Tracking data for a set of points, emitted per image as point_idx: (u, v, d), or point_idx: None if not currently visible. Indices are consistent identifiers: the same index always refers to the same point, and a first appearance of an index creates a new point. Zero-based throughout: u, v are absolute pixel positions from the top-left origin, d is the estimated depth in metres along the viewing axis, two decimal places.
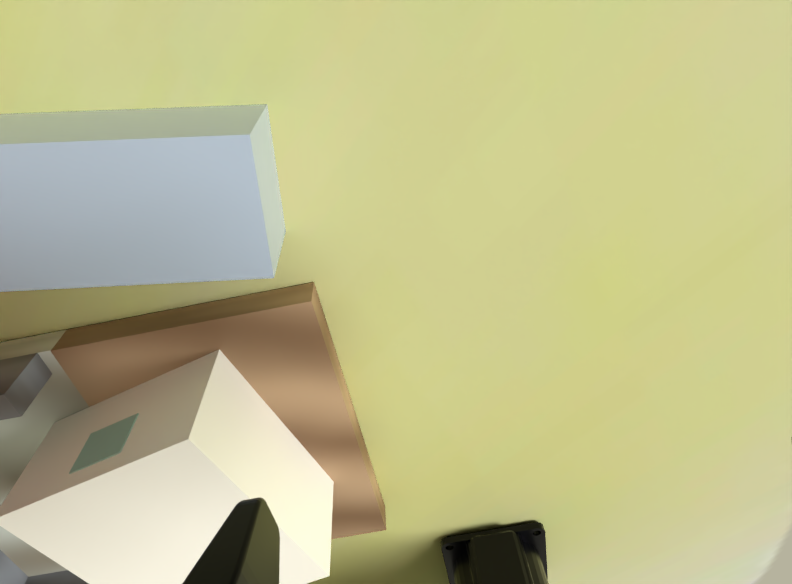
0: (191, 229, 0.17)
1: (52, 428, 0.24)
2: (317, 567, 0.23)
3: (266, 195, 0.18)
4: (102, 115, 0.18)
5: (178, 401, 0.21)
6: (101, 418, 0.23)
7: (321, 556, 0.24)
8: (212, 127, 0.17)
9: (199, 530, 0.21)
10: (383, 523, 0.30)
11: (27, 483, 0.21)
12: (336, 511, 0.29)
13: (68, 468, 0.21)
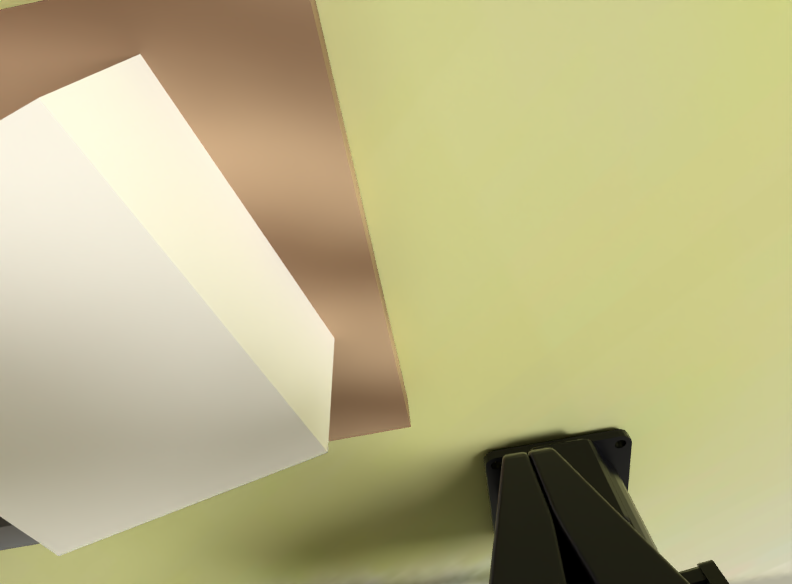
0: None
1: None
2: (307, 434, 0.14)
3: None
4: None
5: None
6: None
7: (313, 420, 0.14)
8: None
9: (91, 344, 0.12)
10: (407, 415, 0.20)
11: None
12: (337, 392, 0.20)
13: None
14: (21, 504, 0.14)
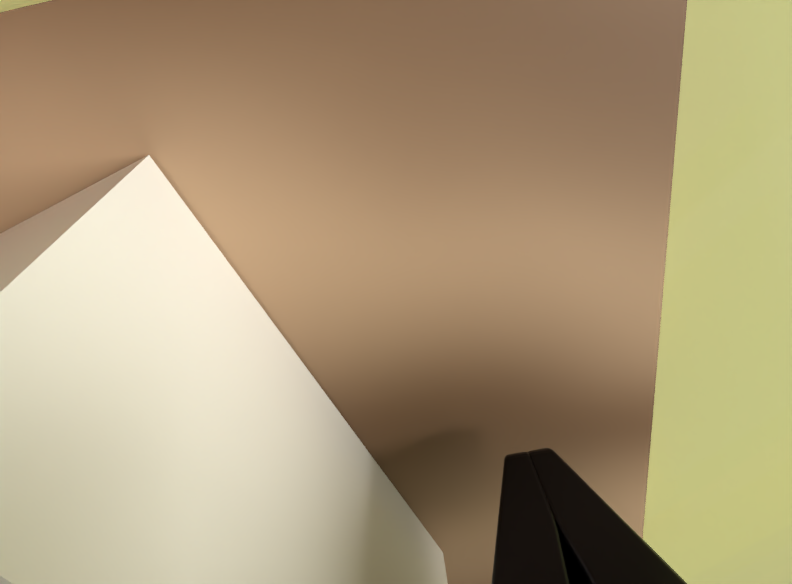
0: None
1: None
2: None
3: None
4: None
5: None
6: None
7: None
8: None
9: None
10: None
11: None
12: None
13: None
14: None
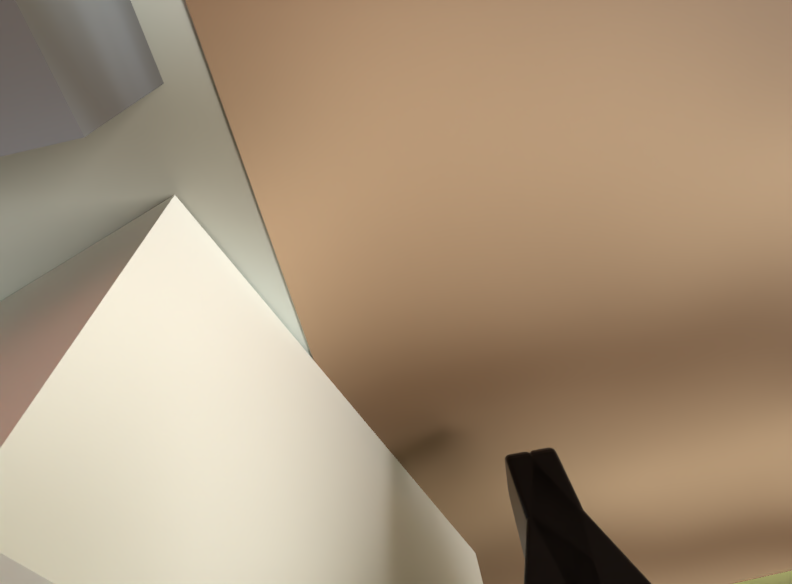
0: None
1: None
2: None
3: None
4: None
5: (6, 351, 0.05)
6: None
7: None
8: None
9: None
10: None
11: None
12: (758, 527, 0.13)
13: None
14: None
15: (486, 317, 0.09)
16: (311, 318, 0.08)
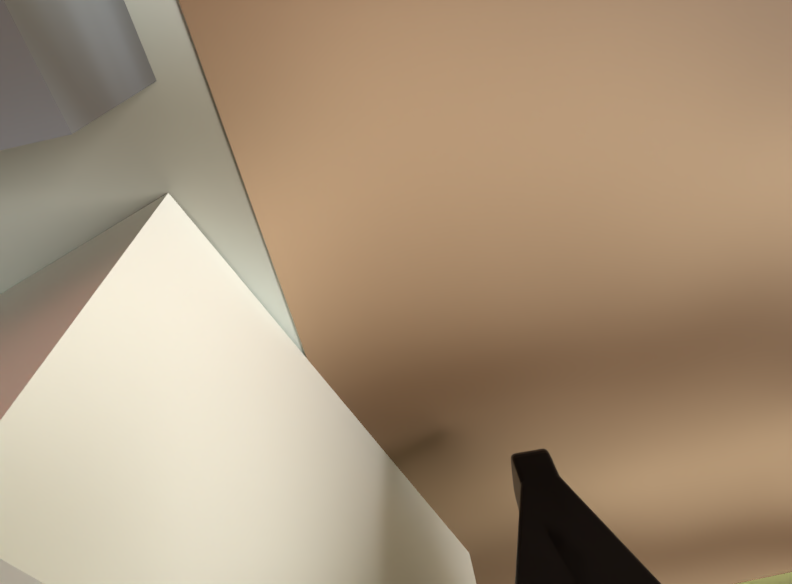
0: None
1: None
2: None
3: None
4: None
5: None
6: None
7: None
8: None
9: None
10: None
11: None
12: (753, 529, 0.13)
13: None
14: None
15: (479, 317, 0.09)
16: (304, 316, 0.08)
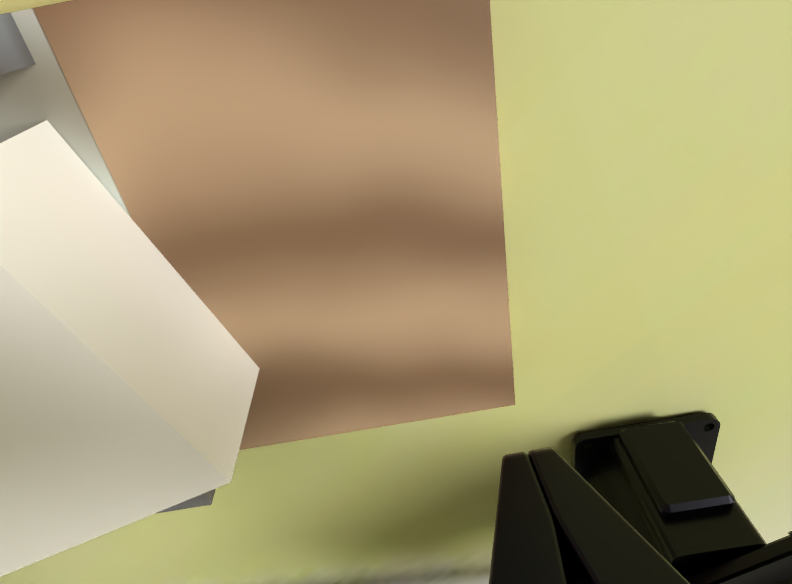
0: None
1: None
2: (208, 466, 0.15)
3: None
4: None
5: None
6: None
7: (217, 452, 0.15)
8: None
9: None
10: (513, 393, 0.21)
11: None
12: (450, 368, 0.20)
13: None
14: None
15: (226, 200, 0.16)
16: (126, 194, 0.16)
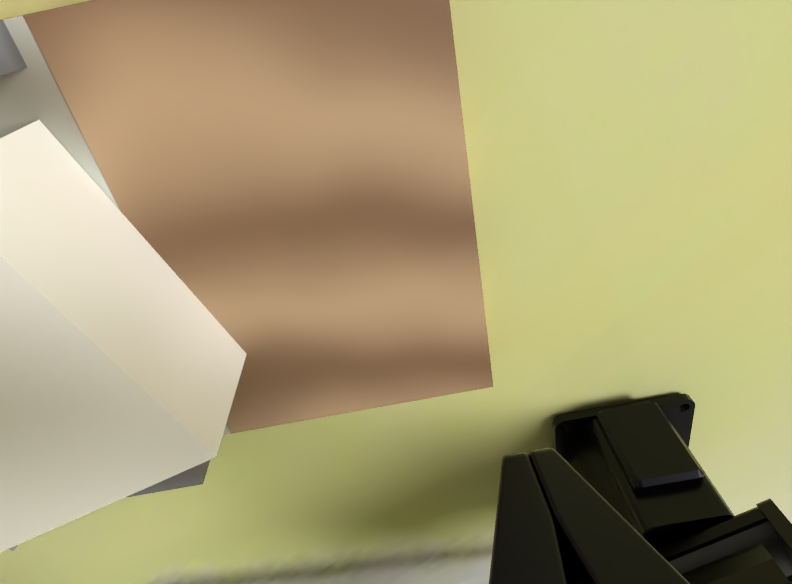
0: None
1: None
2: (194, 441, 0.16)
3: None
4: None
5: None
6: None
7: (203, 429, 0.16)
8: None
9: None
10: (490, 375, 0.22)
11: None
12: (429, 352, 0.21)
13: None
14: None
15: (209, 193, 0.17)
16: (115, 188, 0.17)
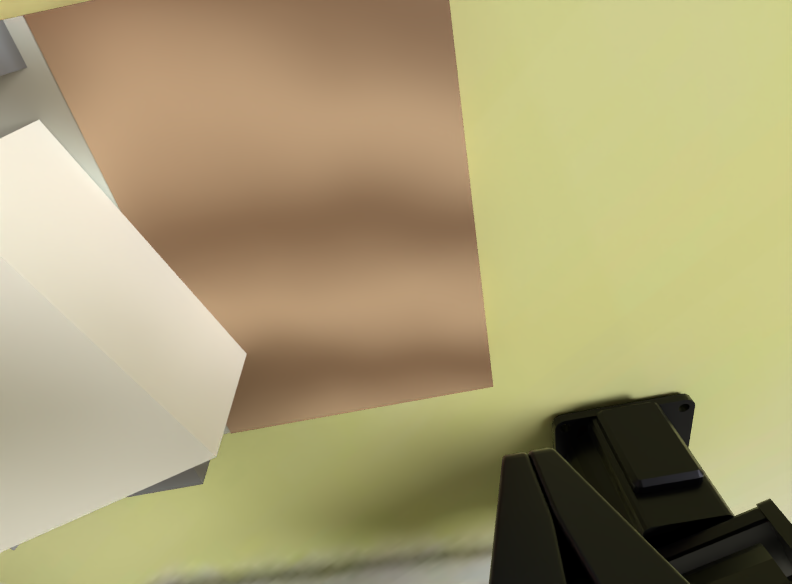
0: None
1: None
2: (194, 441, 0.16)
3: None
4: None
5: None
6: None
7: (203, 429, 0.16)
8: None
9: None
10: (490, 375, 0.22)
11: None
12: (429, 352, 0.21)
13: None
14: None
15: (209, 193, 0.17)
16: (115, 188, 0.17)
